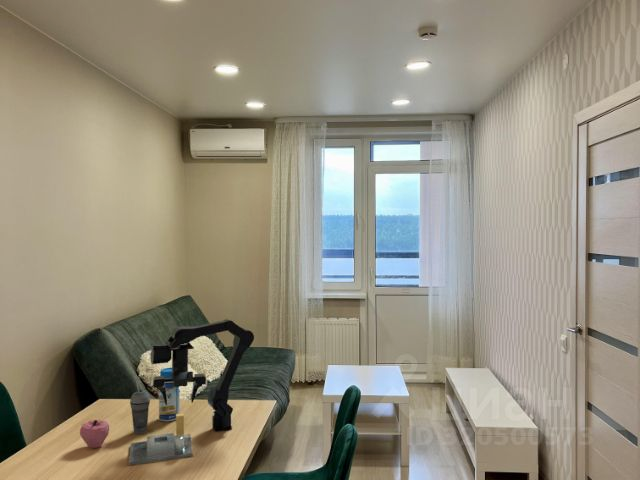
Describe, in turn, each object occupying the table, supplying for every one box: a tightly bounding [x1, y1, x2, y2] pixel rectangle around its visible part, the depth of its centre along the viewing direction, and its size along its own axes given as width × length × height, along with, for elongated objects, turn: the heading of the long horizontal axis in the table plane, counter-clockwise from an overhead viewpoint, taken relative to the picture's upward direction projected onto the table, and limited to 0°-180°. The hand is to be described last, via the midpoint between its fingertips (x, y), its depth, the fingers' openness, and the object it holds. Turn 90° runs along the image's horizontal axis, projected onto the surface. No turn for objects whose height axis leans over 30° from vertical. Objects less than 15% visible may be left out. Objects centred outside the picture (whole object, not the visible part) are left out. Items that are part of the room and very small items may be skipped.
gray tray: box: [128, 432, 193, 466], centre depth 172 cm, size 20×16×6 cm
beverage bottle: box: [157, 367, 181, 422], centre depth 204 cm, size 8×8×20 cm
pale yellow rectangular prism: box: [175, 412, 185, 436], centre depth 185 cm, size 3×3×8 cm
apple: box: [79, 419, 110, 449], centre depth 177 cm, size 10×9×10 cm
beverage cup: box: [129, 378, 151, 435], centre depth 190 cm, size 7×7×20 cm
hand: (179, 403), depth 185 cm, fingers open, 9 cm apart
